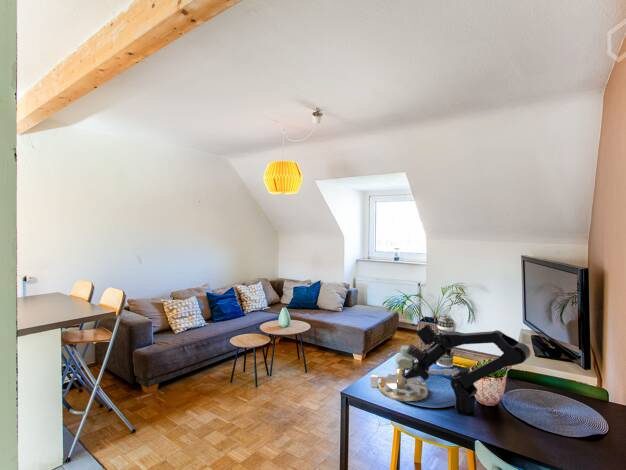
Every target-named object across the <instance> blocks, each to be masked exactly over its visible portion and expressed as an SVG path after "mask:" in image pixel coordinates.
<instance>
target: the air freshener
mask: <svg viewBox="0 0 626 470" xmlns="http://www.w3.org/2000/svg"><path fill="white" fill-rule="evenodd" d="M409 346H410V345H401V346H400V352H399V354H397V355H396V356H395V358H394V359H395V363H396V365H398V366H399V367H402V368H405V370H409V369H410V368H411V366H412V360H413V361H414V360H415V359H416V358H415V357H413V356H412V355H409V354H408V353H407V350H408V348H409Z"/></svg>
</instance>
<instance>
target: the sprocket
mask: <svg viewBox="0 0 626 470" xmlns="http://www.w3.org/2000/svg"><path fill="white" fill-rule="evenodd" d="M395 370H396V371H395V374H392V373H387V374H386V375H387V376H381V377H382V379H381V378H380V380H379V382H380V385H381V386H384V390H385V391H389V390H390V391H392V392H393V394H394V395H398V394H404V395H405V396H406V397H410V395H413V394H415V395H416V396H420V392H424V393H425V392H426V387H427V383H426V382H422V379H421V377H413V378H409V379H406V378H405V375H406V369H405V368H402V367H400V366H399V367H396V369H395Z"/></svg>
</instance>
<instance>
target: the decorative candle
mask: <svg viewBox="0 0 626 470" xmlns="http://www.w3.org/2000/svg"><path fill="white" fill-rule="evenodd" d="M435 328H436V329H435V331H436V332H435V333H436V334H437V335H438V334H444V333H446V332H449V331H454V319H453V318H452V317H451V316H446V315H440V317H438V318H437V325H436V326H435ZM448 349H451V350H452V351H451V355H452V356H448V355H447V353H446V354H445V355H444V356H442V357H441V358H440V359H439V360H438V361H437V364H436V365H438V366H440V367H442V368H452V367H453V366H454V353H455V352H454V347H453V348H448Z"/></svg>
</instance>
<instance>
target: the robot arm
mask: <svg viewBox="0 0 626 470" xmlns="http://www.w3.org/2000/svg"><path fill="white" fill-rule="evenodd" d="M436 333H437V332H435V331H434V329H433V328H432V327H431V326H430V324H426V325H425V326H424V327H422V328H420V329H419V330H417V332H416V336H417V337H418V338H419V339H420V341H422V343H423V344H424V345H425V346H427V345H428V346H429V347H428V348H424V349H421V348H419V347H417V345H416V346H415V345H413V344H412V343H411V344H409V345H408V346H409V348H408V350H407V353H408V354H409V355H412V356H413V357H415V358H416V359H415V360H414V361H413V360H412V366H411V368H409V369H408V370H407V372H406V373H405V378H406V379H409V378H422V380H423V381H424V382H426V381H427V380H428V379H429V377H430V375H429V374H430V373H428V370H429V369H430V368H431V367H432V366H433V365H437V361H438V360H439V359H440V358H441V357H442V356H444V355H445V354H446V353H447V355H448V356H452V355H451V351H452V350H451V349H448V348H453V349H454V348H455V347H456V348H457V347H460V346H463V345H476V344H494V345H495V346H496V347H497V348H498V349H499V350H500V351H501V352H502V354H501V355H500V356H498V357H496V358H494V359H492V360H490V361H488V362H487V363H484V364H483V365H481V366H479V367H477V368H475V369H472V370H470V371H469V370H468V368H467V367H466V368H465V369H462V370H461V371H459V372H458V373H457V374H455V375H454V376H453V377H452V378H451V380H450V387H451V388H452V390H453V392H454V396H455V397H454V408H455V410H456V412H457V414H458V415H463V416H471V417H476V416H477V414H476V397H475V395H476V394H477V392H478V388H477V387H476V385H475V383H476V382H478V381H480V380H482V379H484V378H486V377H488V376H490V375H492V374H494V373H496V372H498V371H500V370H501V369H504V368H506V367H513V366H517V365H520V364H523V363H524V362H525V361H527V359H529V358H530V357H531V349H530V347H529V346H527V344H525V343H522V342H519V340H517V339H515V338H513V337H510V336H508V335H506V334H505V333H503V332H502V331H501V330H498V329H497V330H493V331H492V330H491V331H479V332H467V333H466V332H460V331H454V330H453V331H449V332H446V333H444V334H438V335H437V334H436Z"/></svg>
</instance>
